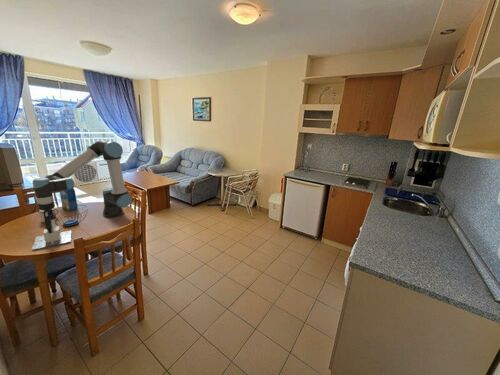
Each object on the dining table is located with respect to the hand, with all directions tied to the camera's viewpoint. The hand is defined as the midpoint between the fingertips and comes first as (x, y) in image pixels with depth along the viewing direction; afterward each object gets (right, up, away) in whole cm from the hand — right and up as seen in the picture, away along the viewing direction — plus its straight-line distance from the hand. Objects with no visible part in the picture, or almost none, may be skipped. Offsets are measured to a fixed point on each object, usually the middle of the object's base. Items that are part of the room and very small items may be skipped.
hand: (52, 232), depth 137 cm
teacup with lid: (-28, +4, +29) cm, 40 cm away
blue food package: (-33, +11, +51) cm, 61 cm away
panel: (-1, -5, +1) cm, 6 cm away
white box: (0, -4, +1) cm, 5 cm away
